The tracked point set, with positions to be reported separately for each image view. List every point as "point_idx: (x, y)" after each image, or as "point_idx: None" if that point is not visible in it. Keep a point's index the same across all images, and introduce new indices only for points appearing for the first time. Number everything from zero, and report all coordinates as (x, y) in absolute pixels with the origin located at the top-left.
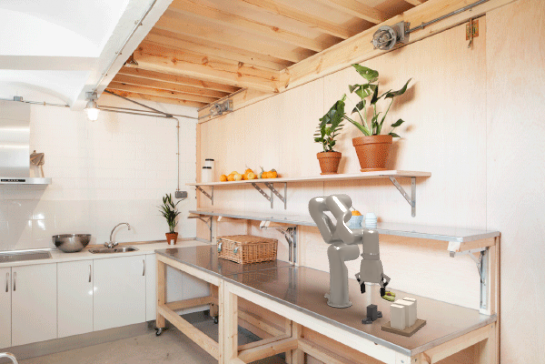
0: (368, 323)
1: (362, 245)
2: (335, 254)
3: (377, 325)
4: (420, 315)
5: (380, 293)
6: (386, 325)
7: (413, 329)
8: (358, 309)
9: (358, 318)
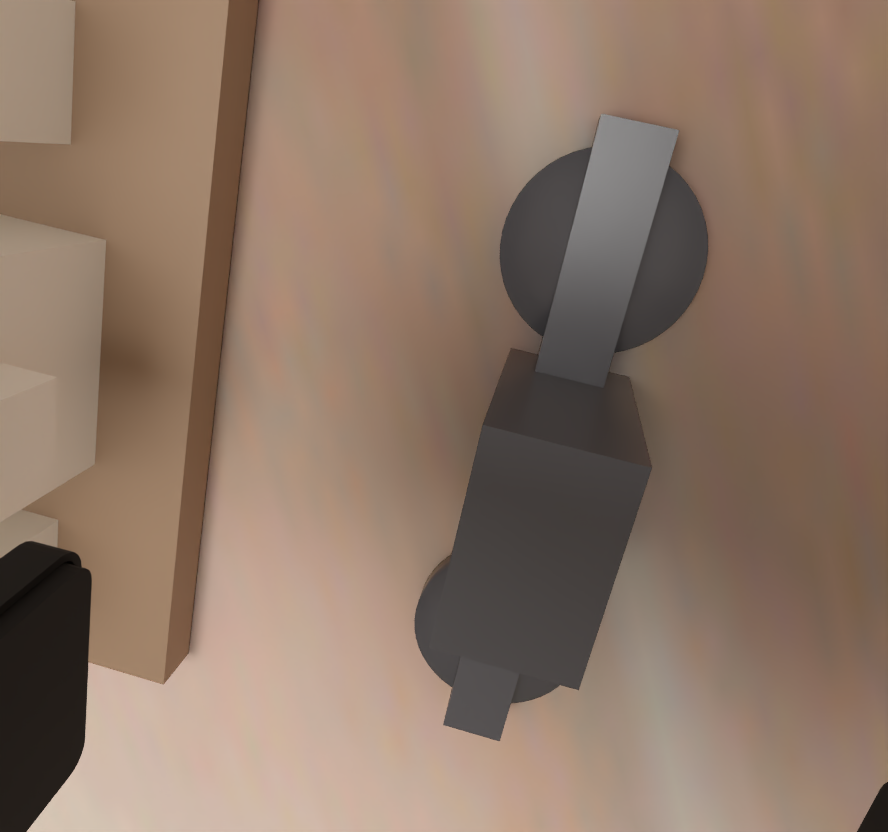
0: (547, 166)
1: None
2: None
3: (383, 175)
4: None
5: (5, 623)
6: (166, 60)
7: None
8: None
9: (794, 382)
